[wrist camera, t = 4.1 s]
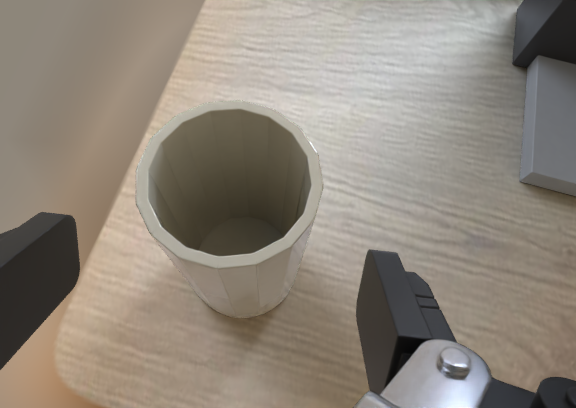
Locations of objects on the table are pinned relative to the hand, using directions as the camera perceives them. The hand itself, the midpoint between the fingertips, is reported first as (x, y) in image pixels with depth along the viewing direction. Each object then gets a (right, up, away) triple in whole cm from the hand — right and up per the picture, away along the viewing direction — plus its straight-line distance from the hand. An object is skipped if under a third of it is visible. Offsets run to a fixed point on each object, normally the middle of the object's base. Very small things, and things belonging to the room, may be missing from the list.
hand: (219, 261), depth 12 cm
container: (0, -1, +10) cm, 10 cm away
